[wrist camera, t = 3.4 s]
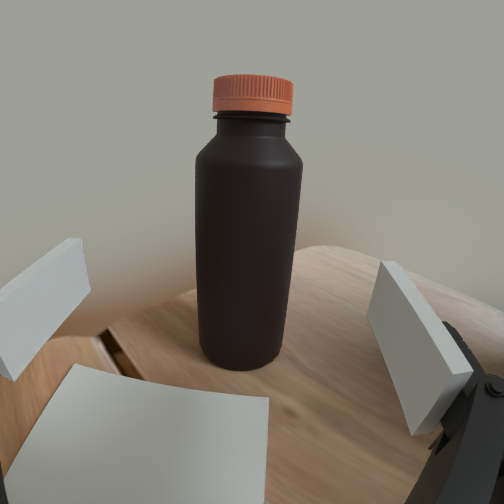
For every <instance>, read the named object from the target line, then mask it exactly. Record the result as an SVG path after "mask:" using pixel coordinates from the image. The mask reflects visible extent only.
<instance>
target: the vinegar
mask: <svg viewBox="0 0 504 504" xmlns="http://www.w3.org/2000/svg"><path fill="white" fill-rule="evenodd" d="M292 98H293V83H291V82H290V81H288V80H286V79H282V78H277V77H272V76H263V75H227V76H221V77H218V78H216V79H215V80H214V92H213V111H214V112H218V114H217V115H215V116H213V119H217V134H216V136H215V137H214V138H213V139H212V140H211V141H210V142H209V143H208V144H207V145H206V146H205V147H204V148H203V149H202V150H201V151H200V152H199V154H198V155H197V157H196V165H195V237H196V238H195V239H196V240H195V241H196V278H197V304H198V324H199V341H200V345H201V348H202V351H203V353H204V354H205V355H206V356H207V358H208V359H209V360H210V361H212V362H214V363H215V364H217V365H219V366H221V367H225V368H228V369H232V370H251V369H256V368H260V367H263V366H264V365H266V364H268V363H270V362H272V361H273V360H274V358H275V357H276V356H277V355H278V354H279V351H280V348H281V345H282V339H283V332H284V325H285V318H286V311H287V303H288V296H289V288H290V280H291V272H292V264H293V256H294V247H295V238H296V230H297V220H298V211H299V200H300V191H301V180H302V169H303V163H302V160H301V158H300V157H299V155H298V154H297V153H296V152H295V150H294V149H293V148H292V146H291V145H290V144H289V142H288V141H287V140H286V139H285V127H286V123H288V122H289V123H290V120H289V119H287V118H286V116H287V115H288V116H290V115H292Z"/></svg>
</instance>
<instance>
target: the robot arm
mask: <svg viewBox="0 0 504 504" xmlns="http://www.w3.org/2000/svg"><path fill="white" fill-rule="evenodd" d="M90 292H91V288H90V283H89V278H88V273H87V268H86V263H85V257H84V252H83V245H82V239H80V238H68V239H67V240H65V241H64V242H62V243H61V244H59V245H58V246H57V247H55V248H54V249H52V250H51V251H49V252H48V253H47V254H46V255H44V256H43V257H41V258H40V259H39V260H37V261H36V262H35V263H33V264H32V265H30V266H29V267H28V268H27V269H25V270H24V271H23V272H21V273H20V274H19V275H17V276H16V277H15V278H14V279H12V280H11V281H10V282H9V283H7V284H6V285H5V286H4V287H3V288H1V289H0V373H1V375H2V376H3V377H5V378H7V379H9V380H11V381H13V382H15V381H16V379H17V378H18V377H19V375H20V374H21V373H22V372H23V370H24V369H25V368H26V366H27V365H28V364H29V363H30V361H31V360H32V359H33V358H34V356H35V355H36V354H37V353H38V351H39V350H40V349H41V348H42V346H43V345H44V344H45V343H46V342H47V340H48V339H49V338H50V337H51V336H52V334H53V333H54V332H55V331H56V330H57V329H58V327H59V326H60V325H61V324H62V323H63V322H64V321H65V319H66V318H67V317H68V316H69V315H70V314H71V313H72V311H73V310H74V309H75V308H76V307H77V306H78V305H79V304H80V302H81V301H82V300H83V299H84V298H85V297H86V296H87V295H88V294H89V293H90ZM366 316H367V318H368V320H369V323H370V325H371V328H372V330H373V332H374V335H375V337H376V340H377V342H378V345H379V347H380V350H381V352H382V355H383V357H384V360H385V363H386V365H387V368H388V370H389V373H390V376H391V379H392V381H393V384H394V387H395V389H396V392H397V395H398V398H399V401H400V404H401V406H402V409H403V412H404V415H405V418H406V421H407V424H408V427H409V430H410V433H411V436H416V435H422V434H427V433H432V431H433V430H434V429H435V427H436V426H437V425H438V423H439V422H440V421H441V424H442V426H443V429H444V430H443V431H442V432H441V434H440V435H439V436H438V437H437V438H436V440H435V441H434V442H433V443H432V444H431V446H430V447H429V448H428V449H429V450H431V449H432V448H433V447H434V448H433V450H432V453H431V455H430V457H429V459H428V461H427V463H426V465H425V467H424V469H423V471H422V473H421V475H420V477H419V479H418V481H417V482H416V484H415V486H414V488H413V490H412V491H411V493H410V495H409V497H408V498H407V500H406V502H405V503H404V504H504V380H503V379H502V378H500V377H498V376H496V375H492V374H488V375H486V374H485V372H484V371H483V369H482V367H481V366H480V364H479V363H478V361H477V360H476V358H475V357H474V355H473V353H472V352H471V350H470V349H468V346H467V345H466V343H465V342H464V341H463V339H462V337H461V336H460V334H459V333H458V332H457V330H456V329H455V328H453V327H452V326H451V325H450V324H449V323H447V322H441V320H440V319H439V317H438V316H437V314H436V313H435V312H434V310H433V309H432V307H431V306H430V305H429V303H428V302H427V301H426V299H425V298H424V296H423V295H422V294H421V292H420V291H419V290H418V288H417V287H416V286H415V284H414V283H413V282H412V281H411V279H410V278H409V277H408V275H407V274H406V273H405V271H404V270H403V269H402V268H401V267H400V265H399V264H398V263H397V262H393V261H381V262H380V267H379V271H378V275H377V279H376V283H375V287H374V290H373V294H372V298H371V301H370V305H369V308H368V312H367V315H366ZM0 504H9V503H8V499H7V494H6V490H5V485H4V480H3V475H2V469H1V463H0Z"/></svg>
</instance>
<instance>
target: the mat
mask: <svg viewBox="0 0 504 504" xmlns="http://www.w3.org/2000/svg"><path fill="white" fill-rule="evenodd" d="M268 412H269V397H257V396H245V395H234V394H225V393H216V392H208V391H201V390H194V389H187V388H181V387H175V386H169V385H164V384H158V383H153V382H148V381H143V380H138V379H134V378H129V377H125V376H121V375H116V374H112V373H108V372H104V371H100V370H97V369H93V368H89V367H86V366H82V365H79V364H74V365H73V367H72V368H71V369H70V371H69V372H68V374H67V375H66V377H65V378H64V380H63V381H62V383H61V384H60V386H59V387H58V389H57V390H56V392H55V393H54V395H53V396H52V398H51V400H50V401H49V403H48V404H47V406H46V407H45V409H44V411H43V412H42V414H41V415H40V417H39V419H38V420H37V422H36V424H35V425H34V427H33V428H32V430H31V432H30V433H29V435H28V437H27V439H26V440H25V442H24V444H23V445H22V447H21V449H20V451H19V452H18V454H17V456H16V458H15V460H14V461H13V463H12V465H11V467H10V469H9V471H8V473H7V474H6V476H5V478H4V485H5V490H6V494H7V499H8V503H9V504H264V491H265V474H266V455H267V434H268Z"/></svg>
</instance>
